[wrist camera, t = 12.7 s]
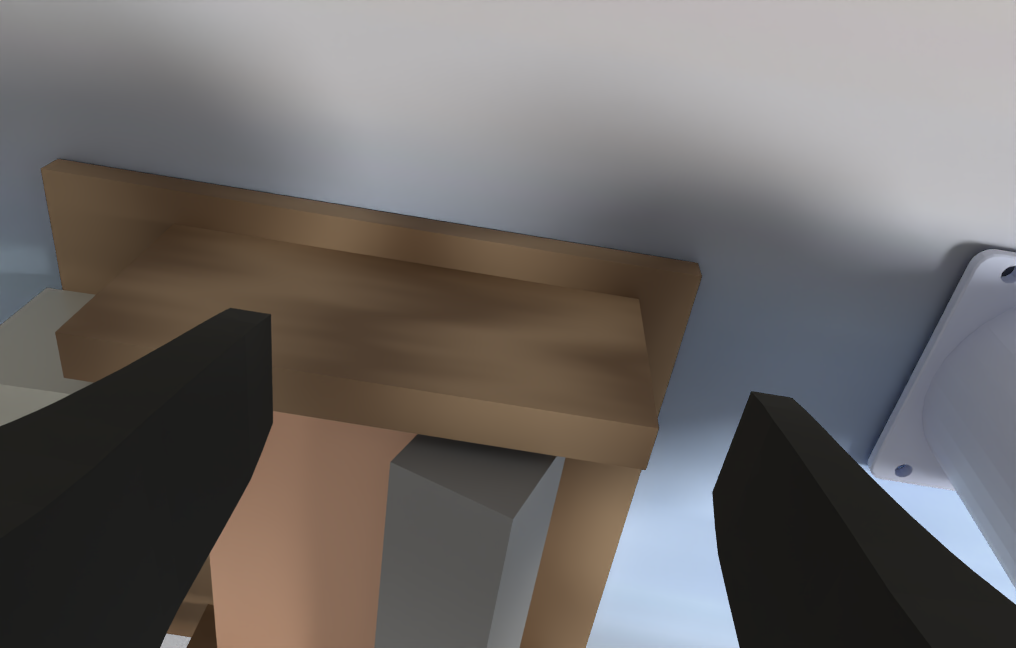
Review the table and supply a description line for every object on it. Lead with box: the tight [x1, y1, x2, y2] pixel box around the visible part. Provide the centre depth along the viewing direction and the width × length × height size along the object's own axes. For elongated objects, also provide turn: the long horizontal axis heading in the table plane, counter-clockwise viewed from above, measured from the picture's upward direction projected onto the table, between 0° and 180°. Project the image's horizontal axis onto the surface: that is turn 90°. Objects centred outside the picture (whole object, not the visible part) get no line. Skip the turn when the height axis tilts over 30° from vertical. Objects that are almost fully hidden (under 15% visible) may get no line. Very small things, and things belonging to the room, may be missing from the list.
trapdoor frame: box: [41, 159, 702, 648], centre depth 24 cm, size 18×19×6 cm
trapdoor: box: [209, 411, 565, 648], centre depth 22 cm, size 10×14×3 cm
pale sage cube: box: [0, 288, 95, 426], centre depth 22 cm, size 4×4×5 cm
